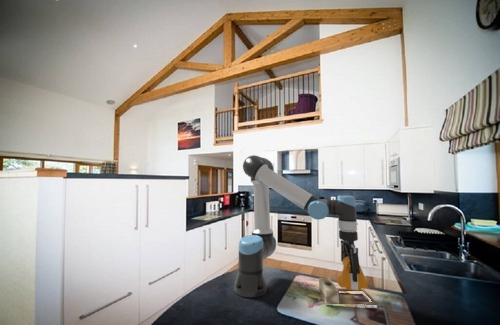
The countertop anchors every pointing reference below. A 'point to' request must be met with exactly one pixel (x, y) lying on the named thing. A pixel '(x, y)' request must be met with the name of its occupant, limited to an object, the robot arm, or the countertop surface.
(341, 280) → the bracket
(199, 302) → the countertop surface
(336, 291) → the seat holder
